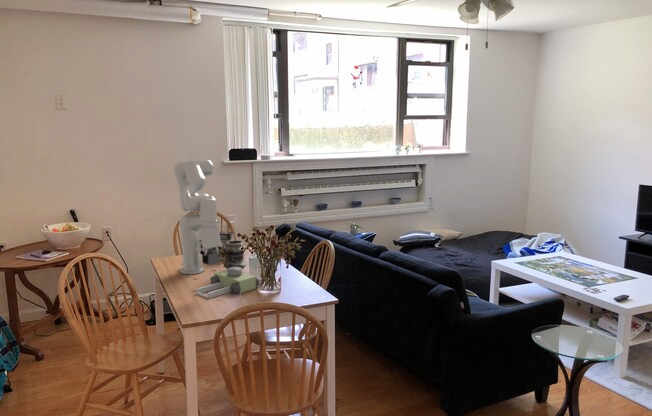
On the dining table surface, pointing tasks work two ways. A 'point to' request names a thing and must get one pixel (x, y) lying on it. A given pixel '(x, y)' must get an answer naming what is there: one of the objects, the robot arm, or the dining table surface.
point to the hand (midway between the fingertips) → (210, 261)
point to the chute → (212, 256)
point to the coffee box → (224, 243)
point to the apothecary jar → (234, 254)
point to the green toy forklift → (229, 283)
